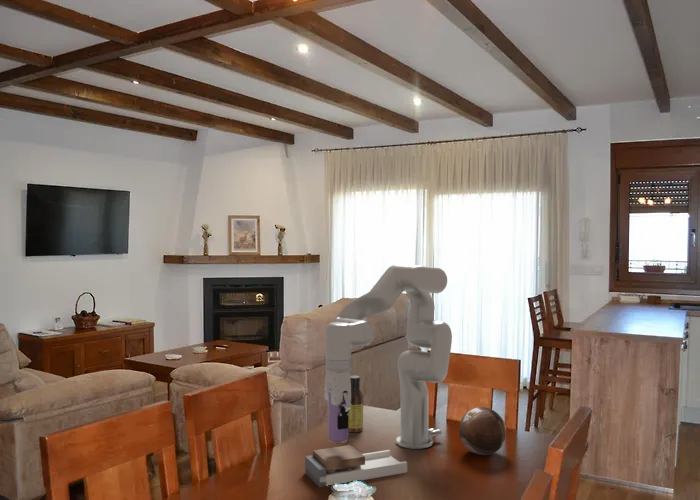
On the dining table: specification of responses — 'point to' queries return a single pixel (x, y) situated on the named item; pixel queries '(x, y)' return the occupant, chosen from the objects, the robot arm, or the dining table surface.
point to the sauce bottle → (355, 406)
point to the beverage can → (335, 424)
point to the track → (373, 468)
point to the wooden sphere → (482, 431)
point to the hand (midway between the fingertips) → (338, 425)
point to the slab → (339, 458)
